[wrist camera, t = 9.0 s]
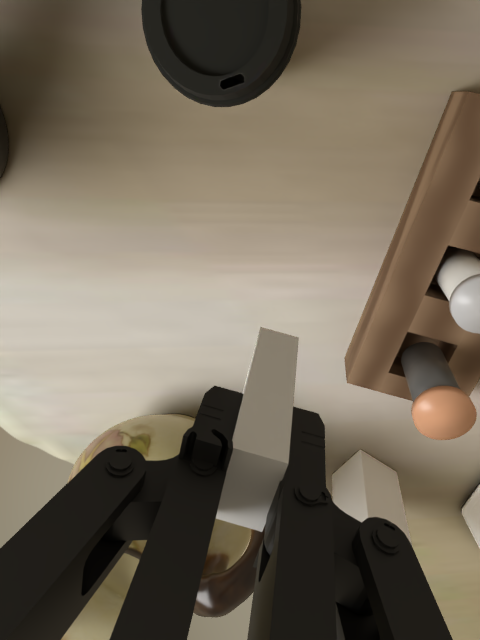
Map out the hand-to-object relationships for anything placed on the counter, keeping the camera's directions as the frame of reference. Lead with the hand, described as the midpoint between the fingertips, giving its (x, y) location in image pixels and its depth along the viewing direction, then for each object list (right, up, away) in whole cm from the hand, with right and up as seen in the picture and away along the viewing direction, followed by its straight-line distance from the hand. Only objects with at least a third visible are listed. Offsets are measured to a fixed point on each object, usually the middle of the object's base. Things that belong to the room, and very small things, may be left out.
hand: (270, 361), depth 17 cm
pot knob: (+17, -2, +27) cm, 32 cm away
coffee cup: (0, +26, +22) cm, 34 cm away
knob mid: (+19, +7, +25) cm, 33 cm away
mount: (+20, +8, +27) cm, 34 cm away
